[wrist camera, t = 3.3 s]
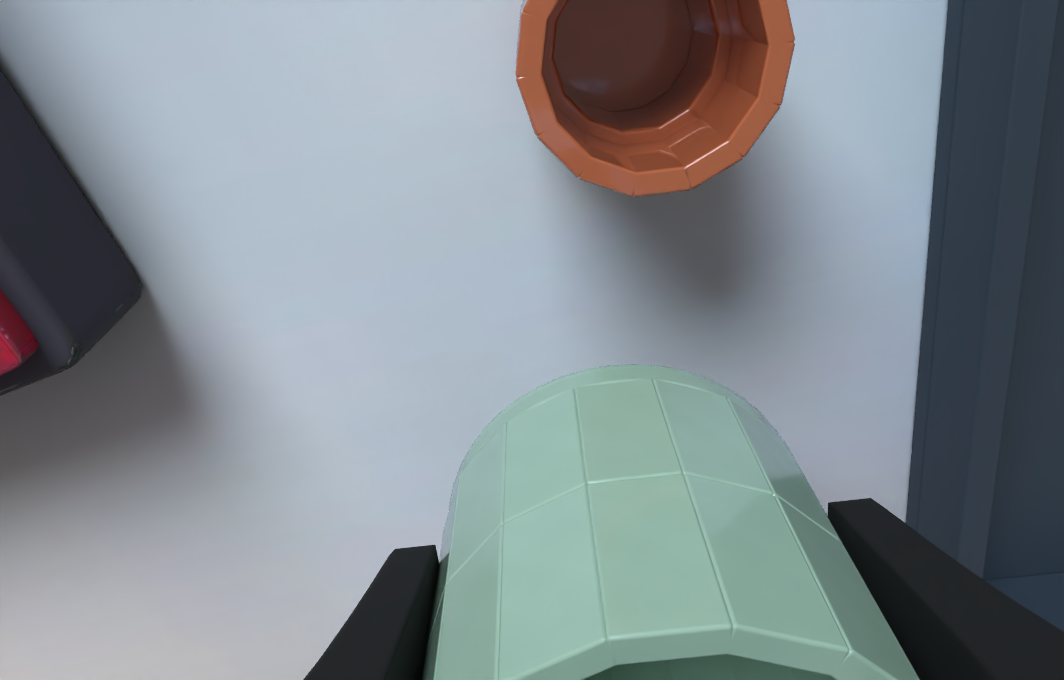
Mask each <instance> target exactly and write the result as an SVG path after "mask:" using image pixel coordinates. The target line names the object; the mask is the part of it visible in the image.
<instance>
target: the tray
mask: <svg viewBox="0 0 1064 680" xmlns="http://www.w3.org/2000/svg"><path fill="white" fill-rule="evenodd" d="M906 524H907V525H908V526H910V527H911V528H912V529H914V530H915V531H916V532H918V533H919V534H920V535H922V536H923V537H924V538H926V539H927V540H928V541H930V542H931V543H933V544H934V545H935V546H937V547H938V548H939V549H941V550H942V551H943V552H945V553H946V554H948V555H949V556H950V557H952V558H953V559H955V560H956V561H957V562H959V563H960V564H962V565H963V566H964V567H966V568H967V569H969V570H970V571H972V572H973V573H974V574H976V575H977V576H979V577H980V578H982V579H983V580H984V581H986V582H987V583H989V584H990V585H992V586H993V587H995V588H996V589H998V590H999V591H1001V592H1002V593H1004V594H1005V595H1007V596H1008V597H1010V598H1011V599H1013V600H1014V601H1016V602H1017V603H1019V604H1020V605H1022V606H1024V607H1025V608H1027V609H1028V610H1030V611H1032V612H1033V613H1035V614H1036V615H1038V616H1040V617H1041V618H1043V619H1044V620H1046V621H1048V622H1049V623H1051V624H1052V625H1054V626H1056V627H1057V628H1059V629H1060V630H1062V631H1064V0H949V1H948V13H947V26H946V38H945V50H944V63H943V75H942V87H941V100H940V112H939V124H938V136H937V149H936V161H935V173H934V186H933V198H932V210H931V223H930V235H929V247H928V259H927V272H926V284H925V296H924V309H923V321H922V333H921V346H920V358H919V370H918V382H917V395H916V407H915V419H914V432H913V444H912V456H911V469H910V481H909V493H908V505H907V518H906Z"/></svg>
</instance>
